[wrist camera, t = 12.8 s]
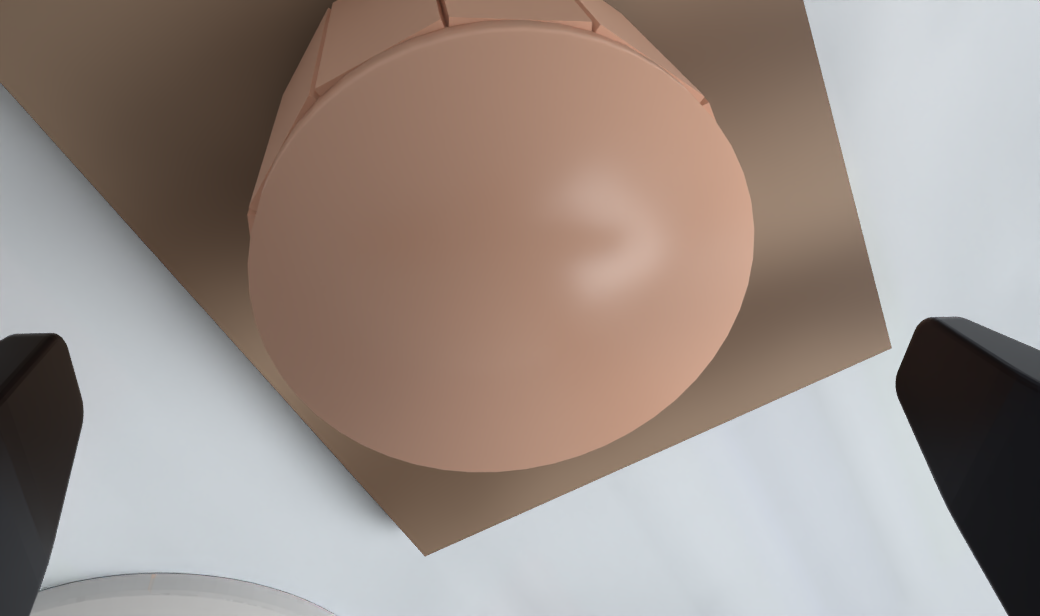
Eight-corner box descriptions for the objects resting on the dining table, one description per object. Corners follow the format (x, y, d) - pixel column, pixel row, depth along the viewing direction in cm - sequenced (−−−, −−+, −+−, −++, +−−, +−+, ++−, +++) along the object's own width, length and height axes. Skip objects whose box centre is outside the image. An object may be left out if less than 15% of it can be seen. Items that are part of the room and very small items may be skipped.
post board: (869, 323, 19) (1022, 495, 14) (423, 525, 21) (435, 737, 16) (566, -798, 9) (748, -1359, 5) (-246, -248, 11) (-704, -264, 6)
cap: (701, 209, 15) (807, 352, 11) (409, 353, 16) (418, 531, 12) (565, -130, 12) (652, -85, 8) (202, 77, 12) (127, 206, 9)
